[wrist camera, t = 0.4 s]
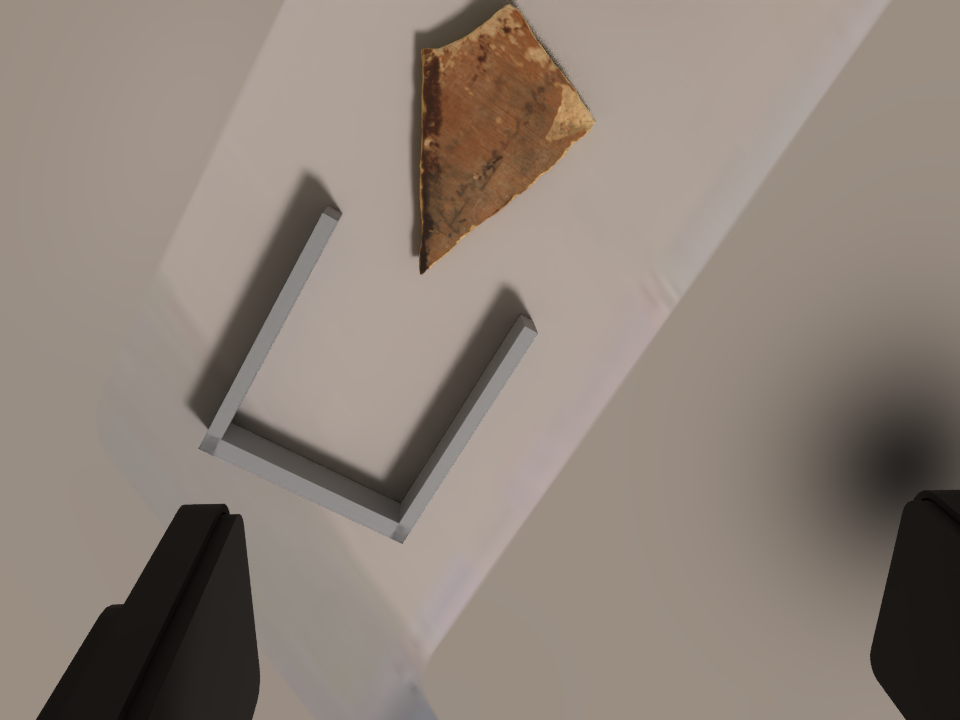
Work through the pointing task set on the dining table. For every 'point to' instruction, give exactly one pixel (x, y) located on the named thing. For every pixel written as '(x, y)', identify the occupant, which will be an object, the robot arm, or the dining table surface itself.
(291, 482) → the frame
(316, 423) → the dining table surface
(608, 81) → the dining table surface
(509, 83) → the shard
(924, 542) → the robot arm
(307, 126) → the dining table surface
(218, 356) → the dining table surface
